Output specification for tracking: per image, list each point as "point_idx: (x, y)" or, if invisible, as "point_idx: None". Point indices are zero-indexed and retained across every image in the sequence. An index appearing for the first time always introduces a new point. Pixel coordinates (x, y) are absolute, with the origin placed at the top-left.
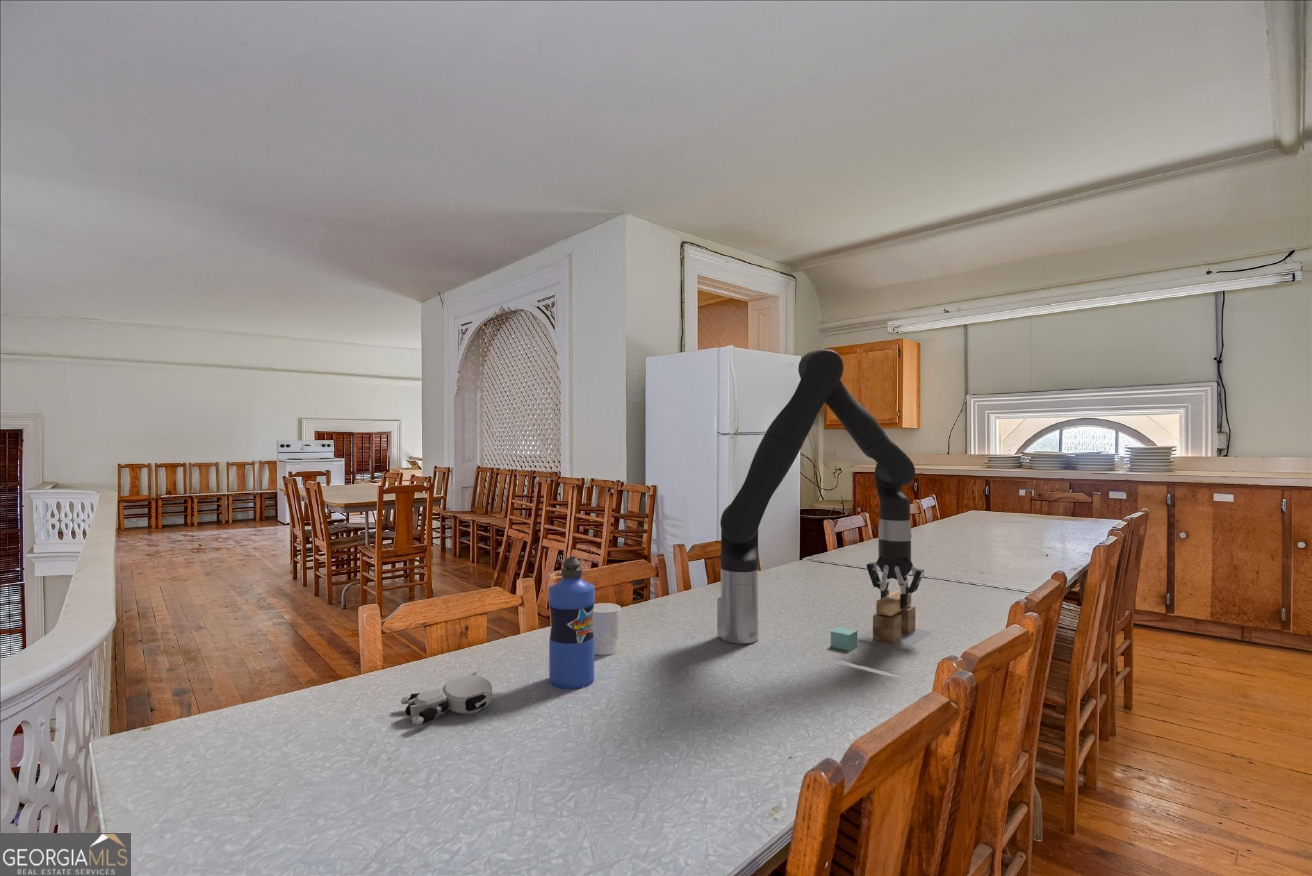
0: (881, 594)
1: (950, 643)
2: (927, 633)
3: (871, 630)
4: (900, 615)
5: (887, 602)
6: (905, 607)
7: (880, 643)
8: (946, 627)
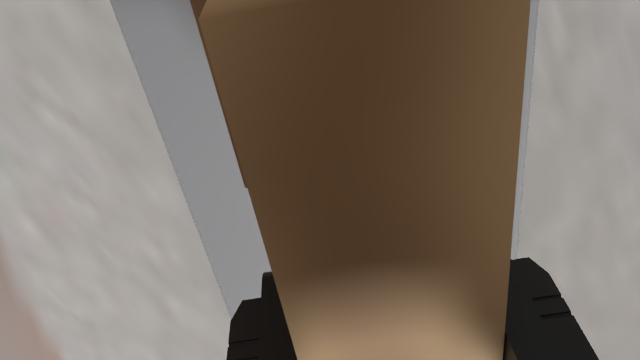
0: (578, 348)
1: (82, 273)
2: (229, 294)
3: (524, 100)
4: (239, 164)
5: (300, 45)
6: (245, 301)
7: None
8: None
